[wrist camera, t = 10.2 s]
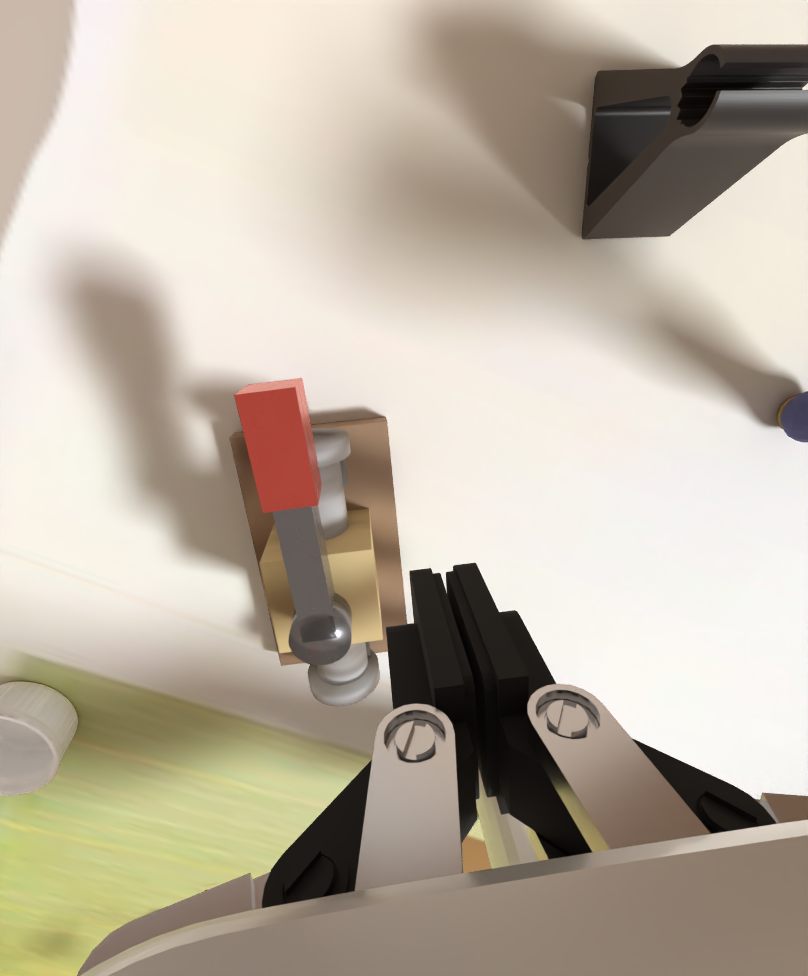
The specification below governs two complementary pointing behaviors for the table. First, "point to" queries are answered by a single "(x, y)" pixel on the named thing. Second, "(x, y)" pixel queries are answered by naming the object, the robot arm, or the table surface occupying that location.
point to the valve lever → (295, 514)
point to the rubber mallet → (795, 417)
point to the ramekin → (32, 735)
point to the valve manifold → (340, 551)
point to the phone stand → (687, 134)
